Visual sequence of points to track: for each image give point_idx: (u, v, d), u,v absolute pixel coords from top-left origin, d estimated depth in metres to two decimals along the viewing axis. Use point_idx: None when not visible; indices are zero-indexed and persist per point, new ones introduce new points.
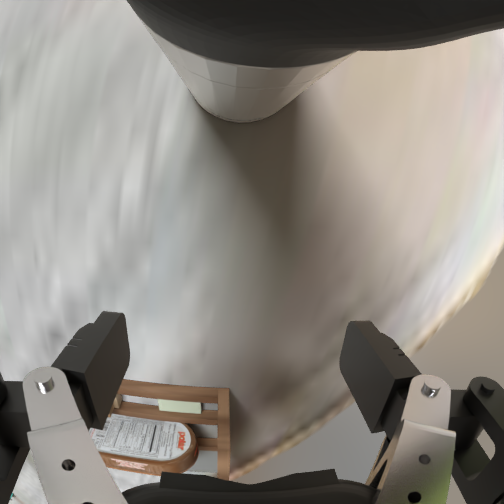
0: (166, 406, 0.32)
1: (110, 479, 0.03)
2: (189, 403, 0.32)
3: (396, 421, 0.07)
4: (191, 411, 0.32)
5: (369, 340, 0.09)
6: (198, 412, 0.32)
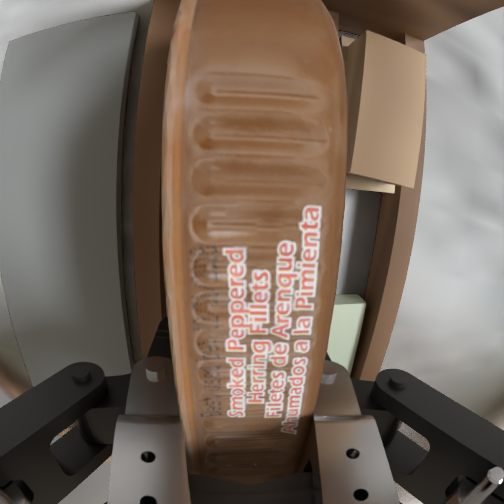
0: (331, 324, 0.13)
1: (185, 482, 0.03)
2: None
3: None
4: None
5: None
6: None
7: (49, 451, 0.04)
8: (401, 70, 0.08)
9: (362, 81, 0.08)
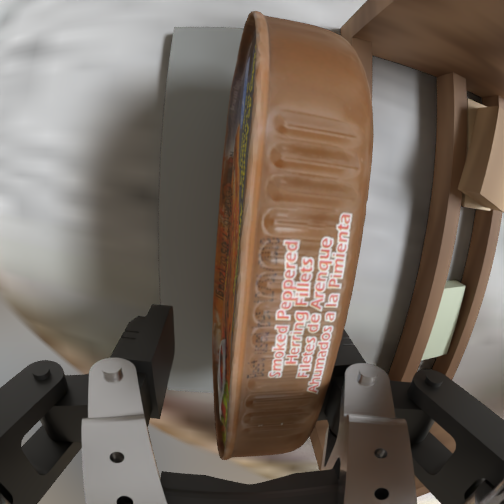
0: (445, 302, 0.16)
1: (156, 478, 0.03)
2: (445, 340, 0.16)
3: (336, 413, 0.07)
4: (428, 345, 0.16)
5: None
6: (423, 356, 0.17)
7: (21, 451, 0.04)
8: None
9: (493, 138, 0.11)
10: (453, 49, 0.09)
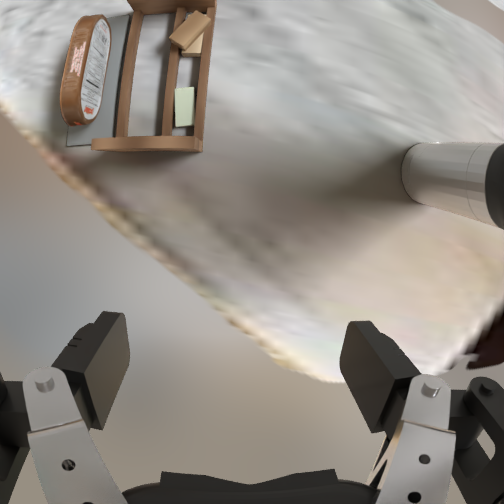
0: (181, 94, 0.34)
1: (110, 479, 0.03)
2: (189, 115, 0.35)
3: (396, 421, 0.07)
4: (177, 117, 0.35)
5: (369, 340, 0.09)
6: (177, 124, 0.35)
7: None
8: (198, 20, 0.29)
9: (185, 20, 0.29)
10: (159, 0, 0.27)
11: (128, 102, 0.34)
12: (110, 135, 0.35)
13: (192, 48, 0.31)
